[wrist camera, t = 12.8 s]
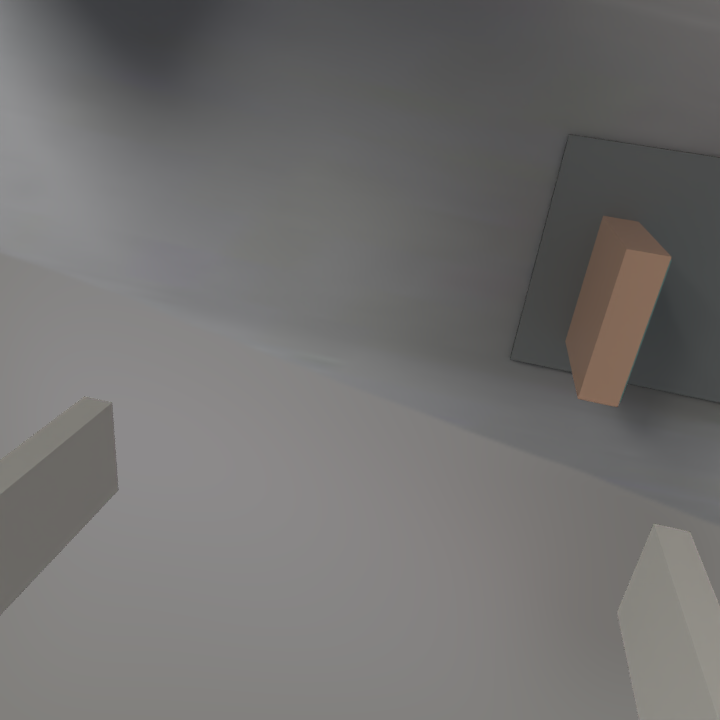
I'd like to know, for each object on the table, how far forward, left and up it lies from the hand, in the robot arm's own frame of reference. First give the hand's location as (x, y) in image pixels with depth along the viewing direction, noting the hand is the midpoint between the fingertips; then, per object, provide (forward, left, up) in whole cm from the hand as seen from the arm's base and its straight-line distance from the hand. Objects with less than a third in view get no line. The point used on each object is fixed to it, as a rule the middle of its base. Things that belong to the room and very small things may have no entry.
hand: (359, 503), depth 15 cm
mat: (0, +14, -27) cm, 30 cm away
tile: (+1, +9, -26) cm, 28 cm away
